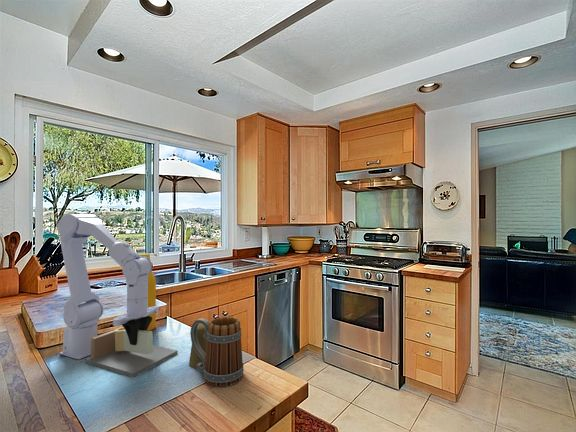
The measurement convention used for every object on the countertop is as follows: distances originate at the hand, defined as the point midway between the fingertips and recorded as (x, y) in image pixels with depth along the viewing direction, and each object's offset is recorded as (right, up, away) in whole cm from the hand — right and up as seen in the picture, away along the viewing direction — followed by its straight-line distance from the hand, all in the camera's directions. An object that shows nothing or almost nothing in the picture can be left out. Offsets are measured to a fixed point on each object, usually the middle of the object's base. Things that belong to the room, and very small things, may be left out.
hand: (136, 342), depth 92 cm
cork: (+20, -5, -2) cm, 21 cm away
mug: (+26, -5, -10) cm, 29 cm away
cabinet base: (-1, -5, +1) cm, 5 cm away
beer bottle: (-10, -6, +25) cm, 28 cm away
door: (-1, -2, 0) cm, 3 cm away
